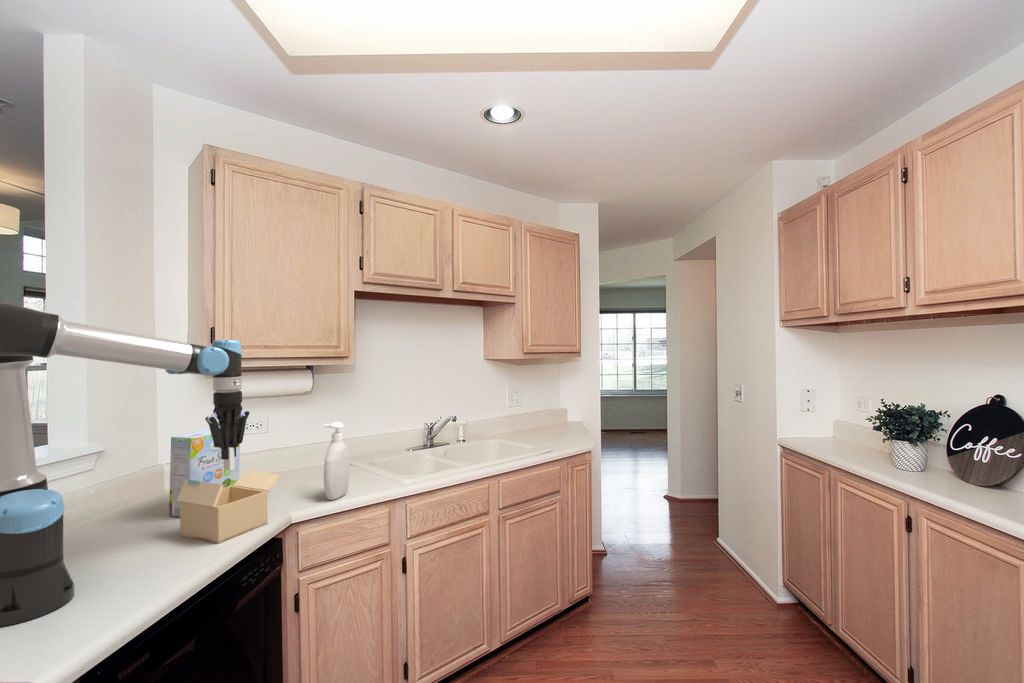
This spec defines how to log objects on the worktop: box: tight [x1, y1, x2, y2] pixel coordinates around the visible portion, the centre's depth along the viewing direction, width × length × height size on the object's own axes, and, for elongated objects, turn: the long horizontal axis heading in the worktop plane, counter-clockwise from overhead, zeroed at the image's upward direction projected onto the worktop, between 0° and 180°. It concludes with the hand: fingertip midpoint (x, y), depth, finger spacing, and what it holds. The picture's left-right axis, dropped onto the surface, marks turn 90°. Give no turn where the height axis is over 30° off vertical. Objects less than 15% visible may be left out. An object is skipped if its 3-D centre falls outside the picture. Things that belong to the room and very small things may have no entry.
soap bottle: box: [323, 421, 351, 501], centre depth 177 cm, size 14×8×27 cm, turn 170°
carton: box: [179, 486, 268, 545], centre depth 146 cm, size 16×16×10 cm
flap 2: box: [234, 470, 282, 493], centre depth 156 cm, size 6×15×1 cm
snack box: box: [168, 426, 241, 517], centre depth 167 cm, size 22×9×26 cm, turn 168°
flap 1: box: [177, 479, 224, 507], centre depth 139 cm, size 6×15×1 cm
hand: (229, 469), depth 147 cm, fingers closed
